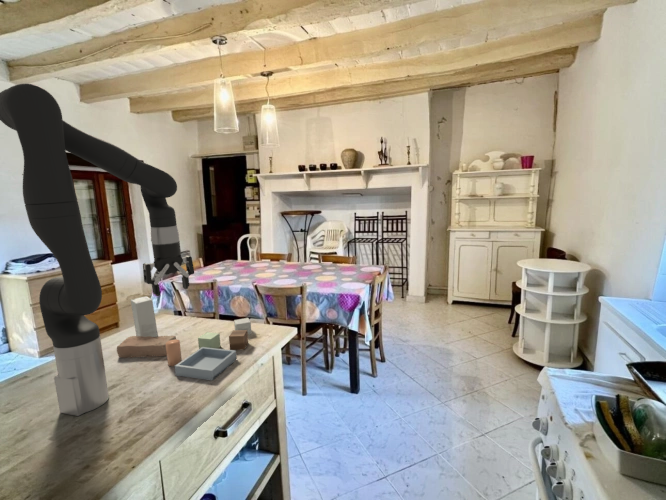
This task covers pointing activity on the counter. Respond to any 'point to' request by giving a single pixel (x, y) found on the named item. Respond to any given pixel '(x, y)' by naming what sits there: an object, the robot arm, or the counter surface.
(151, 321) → the skincare box
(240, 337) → the walnut cube
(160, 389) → the counter surface
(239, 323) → the small box
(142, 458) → the counter surface
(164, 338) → the brick
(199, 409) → the counter surface
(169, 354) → the peach capsule
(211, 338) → the green block
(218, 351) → the tray
